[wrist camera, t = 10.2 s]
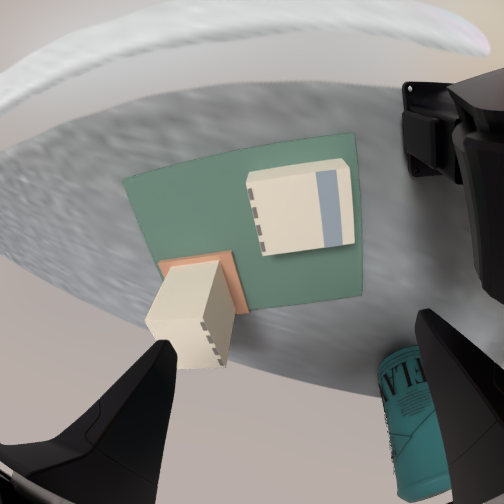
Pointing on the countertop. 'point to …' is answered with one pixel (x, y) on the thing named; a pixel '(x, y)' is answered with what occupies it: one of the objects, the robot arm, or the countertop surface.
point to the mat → (247, 221)
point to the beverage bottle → (413, 427)
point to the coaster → (228, 270)
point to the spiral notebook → (302, 206)
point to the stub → (194, 315)
